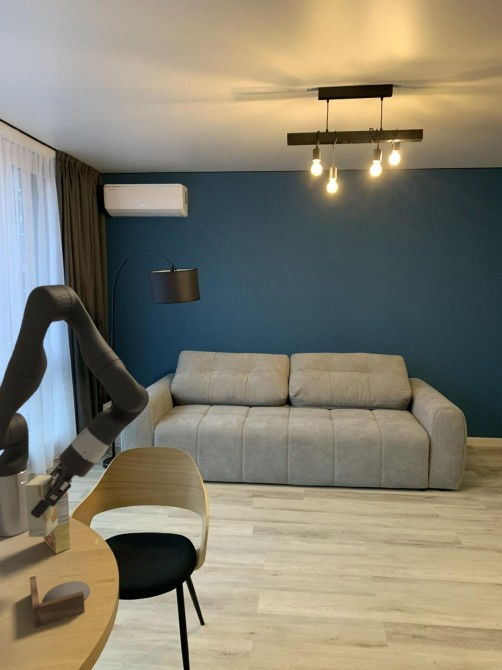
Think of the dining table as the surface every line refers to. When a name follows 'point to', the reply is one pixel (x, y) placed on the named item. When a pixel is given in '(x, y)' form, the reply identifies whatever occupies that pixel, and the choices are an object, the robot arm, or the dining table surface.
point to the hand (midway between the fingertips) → (35, 508)
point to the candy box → (60, 527)
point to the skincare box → (33, 497)
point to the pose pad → (67, 590)
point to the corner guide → (54, 606)
